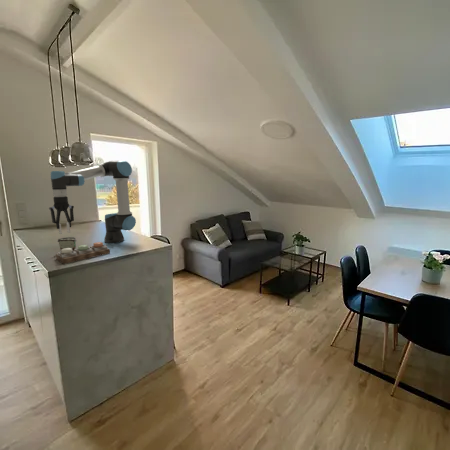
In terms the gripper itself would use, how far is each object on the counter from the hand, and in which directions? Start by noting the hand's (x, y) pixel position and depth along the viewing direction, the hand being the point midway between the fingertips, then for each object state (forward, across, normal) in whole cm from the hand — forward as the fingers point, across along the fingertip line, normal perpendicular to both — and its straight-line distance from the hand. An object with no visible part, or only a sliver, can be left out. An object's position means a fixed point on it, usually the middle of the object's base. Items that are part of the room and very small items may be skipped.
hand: (64, 233), depth 168 cm
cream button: (+13, 0, 0) cm, 13 cm away
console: (+18, +10, 0) cm, 20 cm away
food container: (+18, +8, +19) cm, 27 cm away
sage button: (+13, +10, 0) cm, 16 cm away
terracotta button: (+13, +20, 0) cm, 24 cm away
